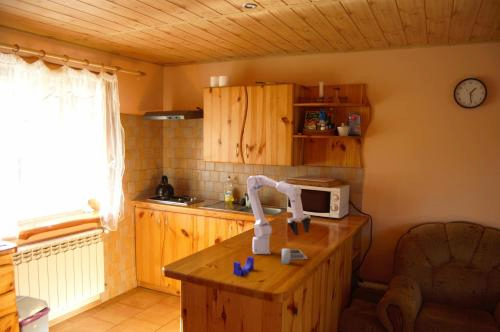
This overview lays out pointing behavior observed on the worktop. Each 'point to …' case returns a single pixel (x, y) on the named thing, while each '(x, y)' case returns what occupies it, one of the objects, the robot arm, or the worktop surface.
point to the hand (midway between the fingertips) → (301, 233)
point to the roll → (285, 256)
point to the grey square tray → (297, 255)
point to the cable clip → (245, 269)
